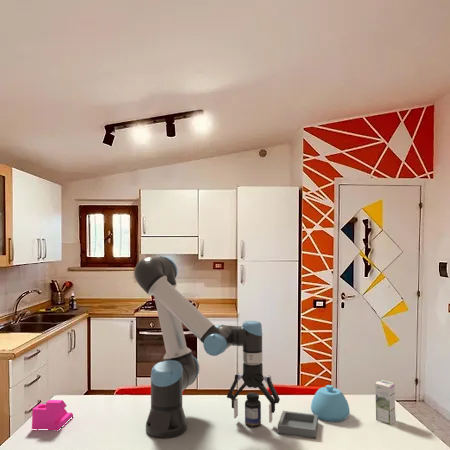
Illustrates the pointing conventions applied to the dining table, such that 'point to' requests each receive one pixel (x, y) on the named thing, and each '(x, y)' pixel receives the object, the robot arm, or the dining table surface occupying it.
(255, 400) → the pill bottle
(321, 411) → the sugar bowl
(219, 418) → the dining table surface
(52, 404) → the bracket
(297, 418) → the bin
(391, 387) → the syrup box
